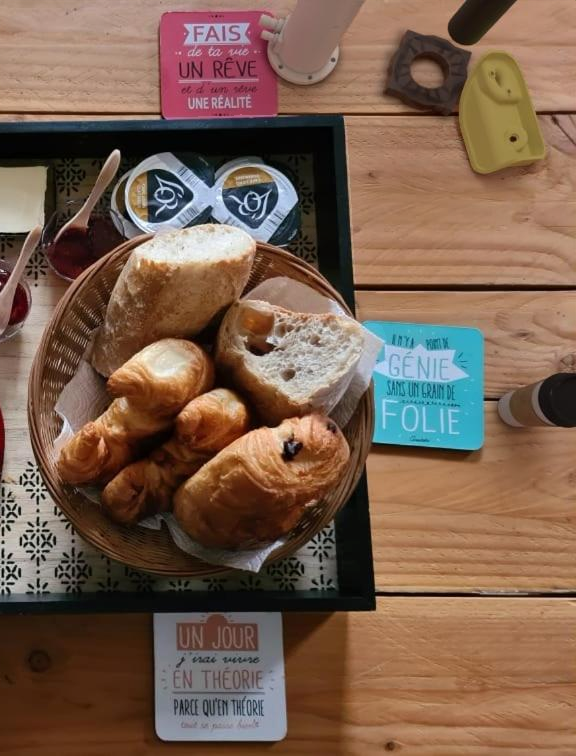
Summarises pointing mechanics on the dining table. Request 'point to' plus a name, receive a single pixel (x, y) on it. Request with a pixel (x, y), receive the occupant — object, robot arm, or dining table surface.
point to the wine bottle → (476, 19)
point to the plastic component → (499, 115)
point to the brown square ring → (440, 52)
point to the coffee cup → (542, 403)
